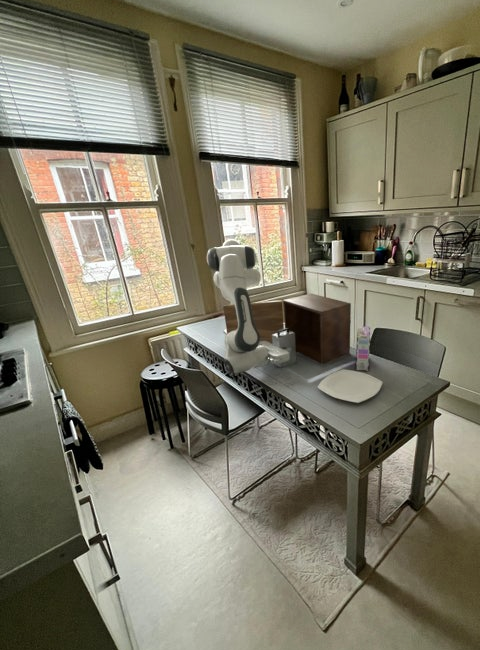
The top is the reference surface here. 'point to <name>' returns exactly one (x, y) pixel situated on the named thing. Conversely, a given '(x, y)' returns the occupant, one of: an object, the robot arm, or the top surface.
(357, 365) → the candy box
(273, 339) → the grey box with handle
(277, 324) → the cupboard door
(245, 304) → the robot arm
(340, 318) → the cupboard
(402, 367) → the top surface
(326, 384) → the plate
